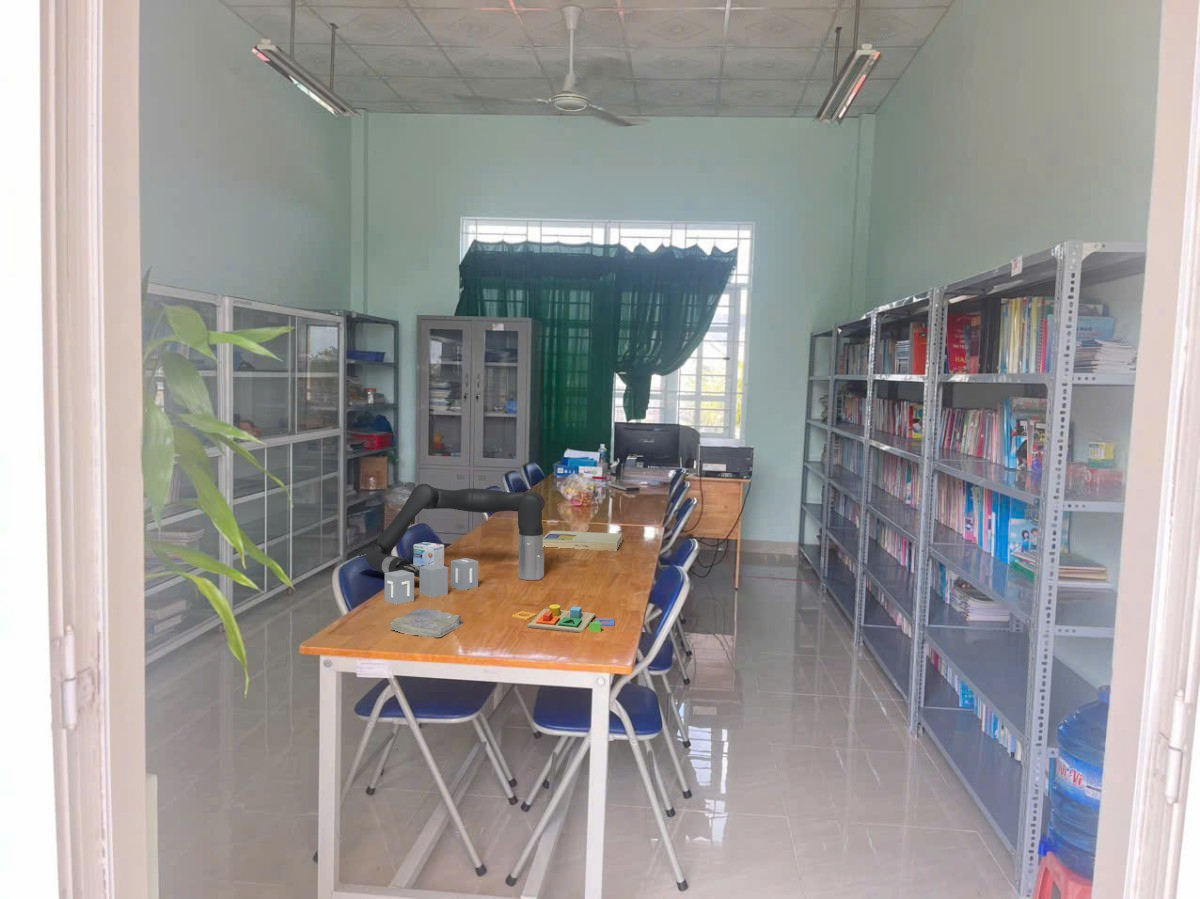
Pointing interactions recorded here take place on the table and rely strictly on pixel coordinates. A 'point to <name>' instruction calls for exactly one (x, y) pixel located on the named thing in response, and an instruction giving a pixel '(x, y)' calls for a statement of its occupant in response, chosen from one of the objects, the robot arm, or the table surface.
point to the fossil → (427, 623)
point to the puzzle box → (583, 540)
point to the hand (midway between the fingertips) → (424, 575)
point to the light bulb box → (428, 554)
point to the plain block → (434, 580)
